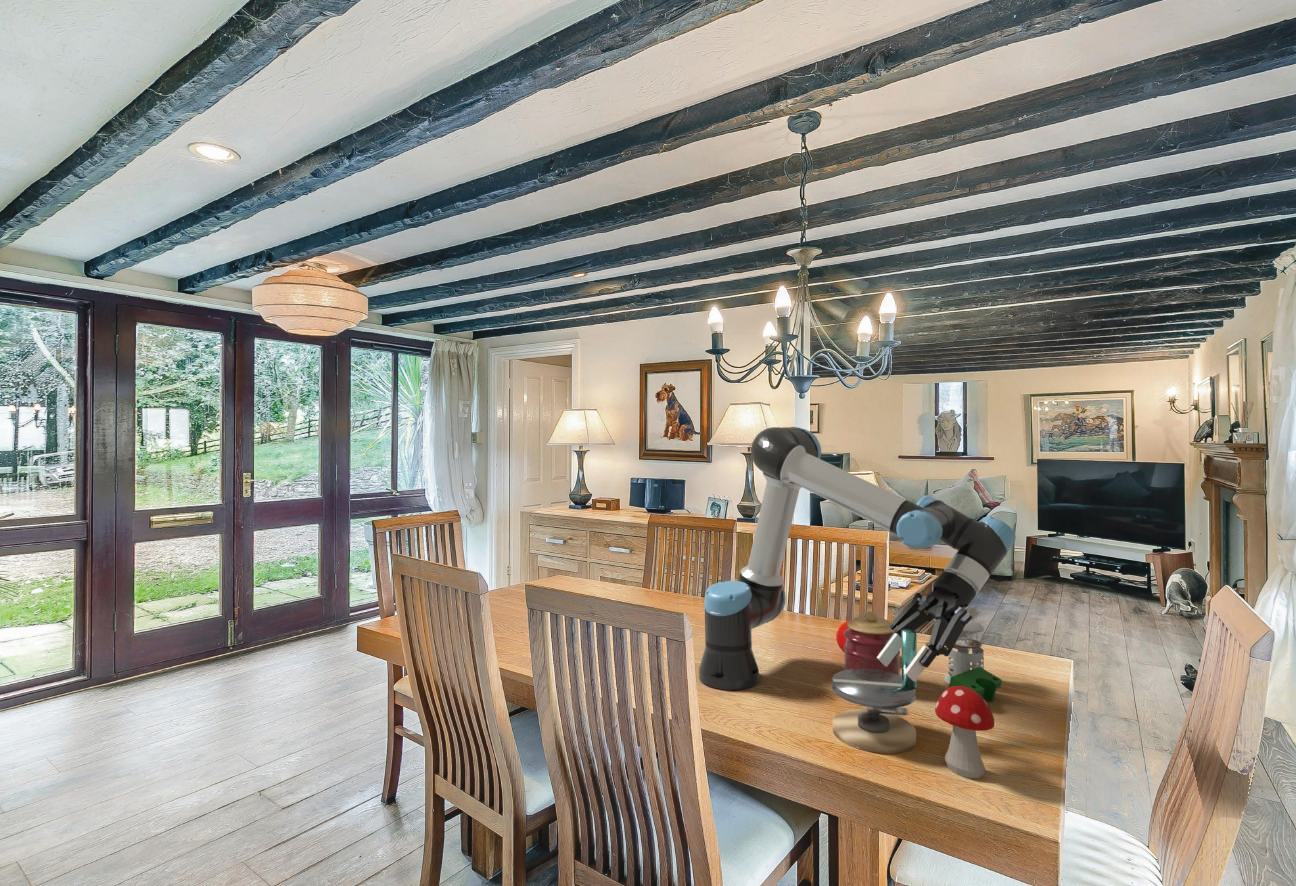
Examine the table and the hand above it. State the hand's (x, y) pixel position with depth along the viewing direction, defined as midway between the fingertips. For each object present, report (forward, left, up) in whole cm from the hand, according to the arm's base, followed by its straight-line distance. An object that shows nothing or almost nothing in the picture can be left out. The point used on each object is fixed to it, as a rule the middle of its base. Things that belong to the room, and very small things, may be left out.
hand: (895, 669), depth 123 cm
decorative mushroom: (+13, +4, -14) cm, 20 cm away
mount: (-4, -3, -14) cm, 15 cm away
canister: (-26, +13, -14) cm, 32 cm away
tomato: (-42, +21, -14) cm, 49 cm away
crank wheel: (-3, -3, -11) cm, 12 cm away
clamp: (-10, +29, -14) cm, 34 cm away
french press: (-20, +36, -14) cm, 44 cm away
